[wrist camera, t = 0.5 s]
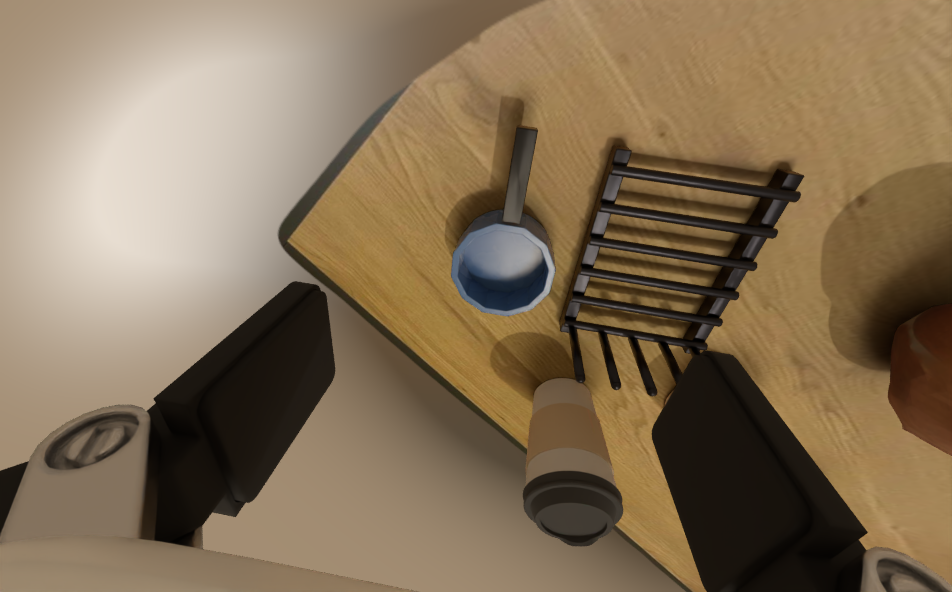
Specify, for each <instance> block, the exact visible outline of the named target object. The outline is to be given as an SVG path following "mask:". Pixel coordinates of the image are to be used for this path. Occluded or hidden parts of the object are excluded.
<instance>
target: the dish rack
mask: <svg viewBox="0 0 952 592" xmlns="http://www.w3.org/2000/svg"><path fill="white" fill-rule="evenodd" d="M631 152H632V151H631V150H630V149H629V148H627V147H622V146H615V145H614V146H613V147H612V150H611V154H610V157H609V160H608V164H607V167H606V170H605V174H604V177H603V180H602V184H601V187H600V190H599V193H598V197H597V200H596V203H595V207H594V210H593V213H592V217H591V220H590V223H589V227H588V230H587V233H586V237H585V240H584V243H583V246H582V250H581V253H580V256H579V260H578V263H577V266H576V270H575V273H574V276H573V280H572V283H571V286H570V290H569V293H568V296H567V299H566V303H565V306H564V309H563V313H562V316H561V319H560V323H559V324H560V331H561V332H567V333H569V336H570V343H571V350H572V357H573V364H574V372H575V379H576V381H577V382H578V383H584V382H585V374H584V368H583V362H582V356H581V350H580V345H579V339H578V333H577V329H581V330H587V331H593V332H598V335H599V339H600V343H601V347H602V351H603V355H604V359H605V363H606V367H607V371H608V375H609V379H610V383H611V387H612V388H613V389H614V390H619V389H620V388H621V382H620V379H619V375H618V372H617V368H616V365H615V361H614V358H613V354H612V351H611V347H610V344H609V340H608V336H607V334H611V335H616V336H622V337H628V341H629V343H630V346H631V349H632V352H633V354H634V357H635V360H636V363H637V366H638V368H639V371H640V374H641V377H642V380H643V382H644V385H645V388H646V391H647V393H648V395H650V396H656V395H657V389H656V386H655V384H654V381H653V378H652V376H651V373H650V371H649V368H648V366H647V363H646V361H645V358H644V355H643V353H642V350H641V348H640V345H639V343H638V340H637V339H640V340H645V341H651V342H657V343H658V345H659V347H660V350H661V352H662V354H663V356H664V358H665V360H666V363H667V365H668V367H669V369H670V371H671V373H672V376H673V378H674V380H675V382H676V384H677V383H678V382H679V380H680V378H681V376H682V375H683V374H682V372H681V370H680V368H679V366H678V364H677V362H676V360H675V358H674V356H673V354H672V352H671V350H670V348H669V346H668V344H669V345H675V346H680V347H682V348H683V350H684V351H685V353H688V354H691V355H692V357H694V356H695V355H700V354H701V353H700V350H704V351H705V350H707V347H708V345H707V343H705V341H706V339H707V337H708V336H709V334H710V332H711V331H712V329H713V327H714V326H718V327H720V326H721V325H722V323H723V320H722V319H721V318H719V317H720V316H721V314H722V312H723V311H724V309H725V307H726V306H727V304H728V302H729V301H730V300H737V299H738V298H739V292H737V291H736V289H737V287H738V286H739V284H740V282H741V281H742V279H743V277H744V276H745V274H746V272H747V271H748V270H749V271H754V270H756V268H757V263H756V262H753V261H754V259H755V258H756V256H757V254H758V253H759V251H760V249H761V248H762V246H763V244H764V243H765V241H766V239H767V238H771V239H773V238H775V237H776V236H777V234H778V230H777V229H774V226H775V224H776V223H777V221H778V219H779V218H780V216H781V214H782V213H783V211H784V209H785V208H786V206H787V204H788V203H789V202H797V201H798V200H799V199H800V196H801V193H800V192H798V191H796V189H797V188H798V186H799V184H800V183H801V181H802V179H803V178H804V175H801V174H799V173H796V172H794V171H788V170H781V169H777V171H776V173H775V175H774V176H773V178H772V180H771V182H770V184H769V185H768V187H764V186H757V185H750V184H744V183H737V182H730V181H723V180H717V179H710V178H703V177H696V176H689V175H683V174H676V173H669V172H662V171H655V170H649V169H642V168H635V167H628V166H627V164H628V161H629V158H630V155H631ZM623 177H627V178H634V179H640V180H647V181H654V182H660V183H667V184H674V185H681V186H687V187H694V188H701V189H707V190H714V191H721V192H728V193H734V194H741V195H748V196H754V197H761V200H760V202H759V203H758V205H757V207H756V209H755V211H754V212H753V214H752V216H751V218H750V220H749V221H748V223H747V224H742V223H735V222H729V221H722V220H716V219H709V218H702V217H696V216H689V215H683V214H676V213H670V212H663V211H657V210H650V209H644V208H637V207H631V206H624V205H617V204H614V203H615V200H616V197H617V194H618V191H619V188H620V185H621V182H622V179H623ZM611 214H616V215H622V216H629V217H635V218H642V219H648V220H655V221H661V222H667V223H674V224H680V225H687V226H693V227H700V228H706V229H713V230H719V231H726V232H732V233H739V234H741V236H740V238H739V239H738V241H737V243H736V245H735V247H734V248H733V250H732V252H731V254H730V256H729V257H722V256H715V255H709V254H703V253H696V252H690V251H684V250H677V249H671V248H665V247H658V246H652V245H646V244H639V243H633V242H627V241H621V240H614V239H608V238H603V237H604V234H605V230H606V227H607V224H608V221H609V218H610V215H611ZM600 247H605V248H611V249H617V250H623V251H630V252H636V253H642V254H648V255H655V256H661V257H667V258H674V259H680V260H686V261H692V262H699V263H705V264H711V265H717V266H723V268H722V270H721V272H720V274H719V275H718V277H717V279H716V281H715V283H714V284H713V286H712V287H706V286H700V285H694V284H688V283H682V282H676V281H669V280H663V279H657V278H651V277H645V276H639V275H632V274H626V273H620V272H614V271H608V270H602V269H596V268H593V267H594V264H595V261H596V258H597V255H598V252H599V249H600ZM590 277H596V278H602V279H608V280H614V281H620V282H627V283H633V284H639V285H645V286H651V287H657V288H663V289H669V290H675V291H681V292H688V293H694V294H700V295H706V296H707V297H706V299H705V301H704V302H703V304H702V306H701V308H700V310H699V311H698V313H697V314H692V313H686V312H680V311H674V310H668V309H662V308H656V307H650V306H644V305H638V304H632V303H626V302H620V301H614V300H608V299H602V298H596V297H590V296H584V294H585V291H586V288H587V285H588V282H589V279H590ZM581 304H587V305H593V306H599V307H605V308H611V309H617V310H623V311H629V312H635V313H641V314H647V315H653V316H658V317H664V318H670V319H676V320H682V321H688V322H692V324H691V326H690V328H689V329H688V331H687V333H686V335H685V337H684V338H683V339H682V338H676V337H670V336H664V335H658V334H652V333H646V332H641V331H635V330H629V329H623V328H617V327H611V326H605V325H599V324H594V323H588V322H582V321H576V318H577V315H578V312H579V309H580V306H581Z"/></svg>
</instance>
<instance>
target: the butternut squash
mask: <svg viewBox="0 0 952 592" xmlns="http://www.w3.org/2000/svg"><path fill="white" fill-rule="evenodd" d="M888 400H889V403H890V404H891V406H892V407H893V409H894V411H895V412H896V414H897V416H898V418H899V419H900V421H901V423H902V428H903V429H904V430H906V431H908V432H910V433H912V434H914V435H915V436H917V437H918V438H920V439H922V440H923V441H925V442H927V443H929V444H931V445H932V446H934V447H936V448H938V449H940V450H942V451H943V452H945V453H947V454H949V455H951V456H952V303H950V304H944V305H937V306H933V307H931V308H929V309H927V310H926V311H924V312H922V313H920V314H919V315H917V316H915V317H913V318H912V319H910V320H908V321H906V322H905V323H903V324H901V325H900V326H899V327H898V328H897V330H896V332H895V334H894V339H893V344H892V349H891V369H890V385H889V390H888Z"/></svg>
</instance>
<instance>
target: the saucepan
mask: <svg viewBox="0 0 952 592" xmlns="http://www.w3.org/2000/svg"><path fill="white" fill-rule="evenodd" d="M537 133H538V129H537V128H534V127H527V126H520V125H518V126H517V129H516V135H515V142H514V148H513V154H512V160H511V166H510V173H509V179H508V185H507V191H506V198H505V204H504V210H495V211H491V212H487V213H485V214H483V215H481V216H479V217H478V218H476V219H474V220H473V222H472V223H471V224H470V225H469V226H468V227H467V229H466V230H465V232H464V233H463V234H462V236H461V237H460V239H459V241H458V243H457V246H456V248H455V250H454V252H453V260H452V271H451V277H452V279H453V281H454V283H455V285H456V287H457V289H458V291H459V293H460V295H461V297H462V298H463V299H464V300H466V301H467V302H469V303H470V304H471V305H473V306H474V307H476V308H477V309H479V310H480V311H481V312H485V313H491V314H496V315H502V316H511V315H514V314H518V313H522V312H525V311H529V310H531V309H533V308H534V307H535V306H536V305H537V304H538V303H539V302H540V301H541V300H543V299H544V298H545V297H546V296H547V295H548V294H549V293H550V289H551V286H552V282H553V278H554V274H555V271H556V268H555V260H554V252H553V249H552V246H551V242H550V239H549V237H548V234H547V232H546V230H545V229H544V228H543V227H542V226H541V224H539V223H538V222H537V221H536V220H535V219H533V218H532V217H531V216H529V215H527V214H525V213H522V211H523V206H524V201H525V196H526V190H527V185H528V180H529V175H530V170H531V164H532V159H533V154H534V149H535V143H536V138H537Z"/></svg>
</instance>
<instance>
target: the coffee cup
mask: <svg viewBox="0 0 952 592" xmlns="http://www.w3.org/2000/svg"><path fill="white" fill-rule="evenodd" d="M526 476H527V478H526V487H525V488H524V491H523V499H524V510H525V512H526V514H527V515H528V517H529V518H530V519H531V520H533V521H534V522H535V523H536V524H537V526H538V527H539V529H540V530H542V531H543V532H545V533H546V534H548V535H550V536H552V537H555V538H558V539H560V540H561V541H563V542H565V543H567V544H568V545H571V546H589V545H591V544H593V543H594V542H596V541H597V540H598V539H599V538H601V537H603V536H605V535H607V534H608V533H609V532H610V531H611V530H612V528H613V526H614V525H615V524H616V523H617V522H618V521H619V520H620V518H621V517H622V514H623V506H622V496H621V493H620V492H619V490H618V489H617V487H616V484H615V480H614V471H613V467H612V464H611V460H610V457H609V453H608V450H607V446H606V442H605V439H604V435H603V432H602V428H601V425H600V421H599V419H598V417H597V415H596V412H595V408H594V405H593V401H592V397H591V394H590V391H589V390H588V388H587V387H586V386H585V385H584V384H582V383H578V382H577V381H576V380H573V379H568V378H556V379H551V380H548V381H546V382H544V383H542V384H541V385H540V386H539V387H538V388H537V389H536V391H535V393H534V400H533V411H532V418H531V420H530V428H529V438H528V449H527V459H526Z"/></svg>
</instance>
